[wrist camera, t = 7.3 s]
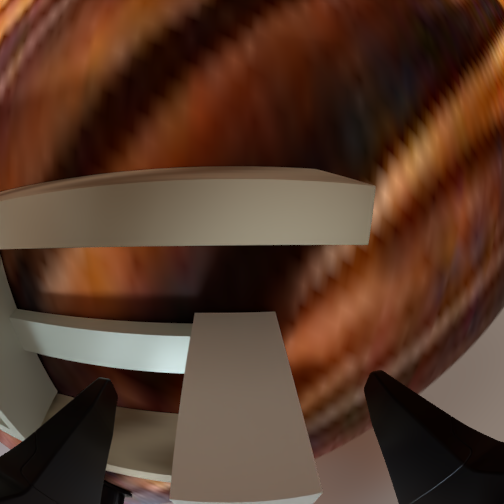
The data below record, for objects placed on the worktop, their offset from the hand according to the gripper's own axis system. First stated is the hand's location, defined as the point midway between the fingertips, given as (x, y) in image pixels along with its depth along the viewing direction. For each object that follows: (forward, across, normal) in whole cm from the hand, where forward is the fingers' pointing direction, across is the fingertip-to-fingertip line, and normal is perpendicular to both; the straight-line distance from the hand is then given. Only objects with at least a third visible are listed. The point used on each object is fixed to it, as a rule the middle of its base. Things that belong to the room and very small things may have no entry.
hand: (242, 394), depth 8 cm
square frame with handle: (+3, +10, 0) cm, 10 cm away
